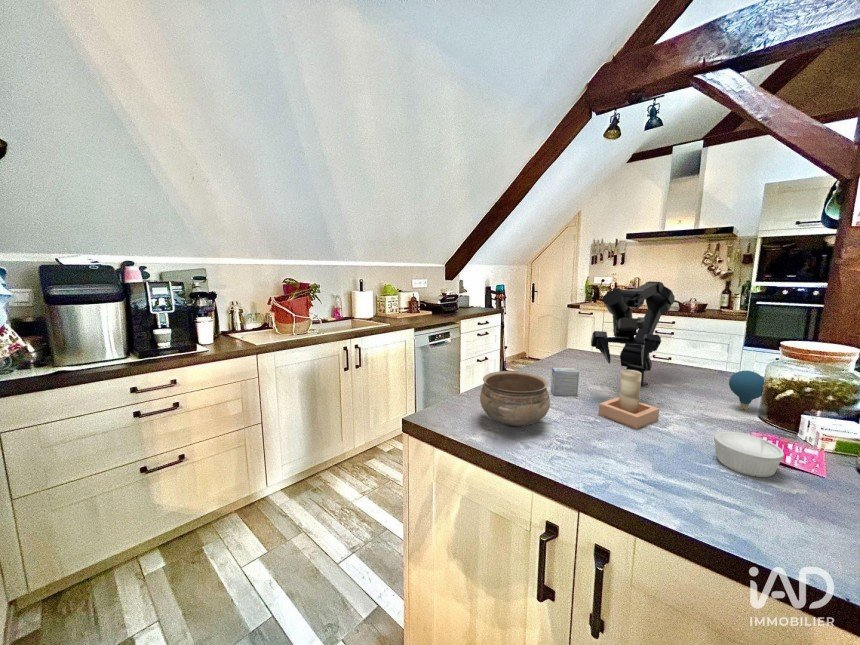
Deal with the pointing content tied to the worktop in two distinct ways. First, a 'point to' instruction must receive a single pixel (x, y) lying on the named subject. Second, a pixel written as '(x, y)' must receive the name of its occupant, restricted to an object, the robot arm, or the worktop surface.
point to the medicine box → (564, 381)
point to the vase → (630, 391)
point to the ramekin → (747, 453)
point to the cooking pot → (515, 397)
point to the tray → (628, 414)
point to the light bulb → (746, 386)
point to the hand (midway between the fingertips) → (626, 364)
